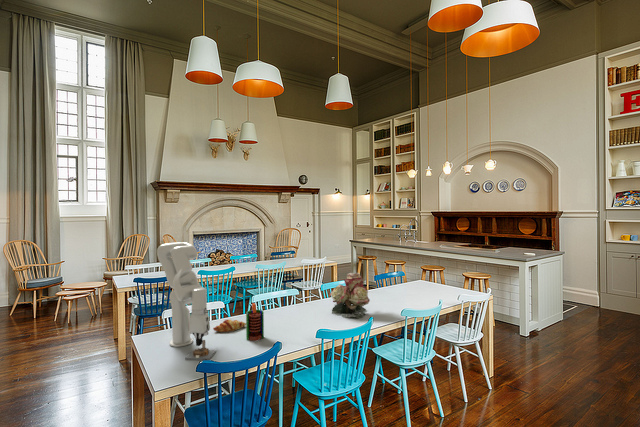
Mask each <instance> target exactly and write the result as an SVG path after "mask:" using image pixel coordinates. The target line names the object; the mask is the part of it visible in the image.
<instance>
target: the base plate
mask: <svg viewBox="0 0 640 427" xmlns="http://www.w3.org/2000/svg"><path fill="white" fill-rule="evenodd" d="M194 350H195V349H193V350H191V352H189V353H188V354H187V355H186V356H185V361H186V360H187V361H192V360H193V361H206V360H205V359H208V360H207V361H209V360H211V359H212V358H213V356H214V355H215V354H216V353H217V350H216V349H209V353H208V354H207V355H205V356H201V357H199V355H196V357H195V356H193V351H194ZM210 358H211V359H210Z"/></svg>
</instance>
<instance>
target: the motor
mask: <svg viewBox="0 0 640 427" xmlns="http://www.w3.org/2000/svg"><path fill="white" fill-rule="evenodd" d="M251 308H252V309H251V310H248V311H246V312H245V318H246V319H245V323H246V326H245V327H246V328H245V329H246V336H245V337H246V338H245V339H246V341H256V342H257V341H259V340H262V339H265V337H264V336H265V333H264V332H265V330H264V327H265V326H264V322H265V320H264V319H265V318H264V311H263V310H262V309H257V305H256V303H251Z"/></svg>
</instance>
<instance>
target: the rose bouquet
mask: <svg viewBox="0 0 640 427" xmlns="http://www.w3.org/2000/svg"><path fill="white" fill-rule="evenodd" d="M343 281H344V284H345V285H342V284H338V285H336V287H335V288H334V289H332V291H331V292H330V294H329V295H330V297H331V298H332V303H333V305H334V306H333V307H332V309H331V314H332V315H334V316H341V317H342V318H356V319H357V320H359V319H362V318H364V316H366V315H367V312H368V310H367V309H366V307H364V306H366V305H368V304H369V303H370V301H371V299H370V298H369V297H368V296H369V295H368V293H369V289H367V287H366V285H365V286H364V281H365V279H364V278H363V277H362V276H361V273H360V272H356V273H354V272H351V271H350V272H349V273H347V274H346V278H345V279H343ZM334 303H335V304H334Z"/></svg>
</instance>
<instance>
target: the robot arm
mask: <svg viewBox="0 0 640 427" xmlns="http://www.w3.org/2000/svg"><path fill="white" fill-rule="evenodd" d="M197 251H198V250H197V249H196V247H195V246H194V245H193V244H191V243H188V242H185V241H181V242H167V243H163V244H161V245H159V246H158V248H157V249H156V254H157V255H156V256H157V259H158V261H159V263H160V264H161V267H162V269H163V270H164V273H165V277H166V280H167V284H168V286H169V287H170V288H171V289H173V290H172V291H171V292H170V293H169V301H170V306H171V325H172V326H171V328H172V329H171V330H172V331H171V332H172V339H171V340H170V341H169V346H171V347H173V348H174V347H176V348H179V347H185V346H189V345H190V344H192V343H193V342H194V338H195V346H196V347H200V346H202V340H203V338H204V337H205V336H209V331H210V330H211V325H210V324H211V323H210V315H209V309H208V307H207V306H208V304H207V300H208V299H207V298H208V296H207V293H208V292H207V288H206V287H203V286H202V284H200V282H199V281H198V278H197V277H198V276H197V274H196V273H195V272H194V270H193V266H192V262H191V261H190V260H194V259H196V258H197V257H198V256H197V255H198V252H197ZM188 304H191V313H190V310H189V308H188V307H187V306H186V305H188ZM191 334H192V335H193V336H194V338H193V337H191Z"/></svg>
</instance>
